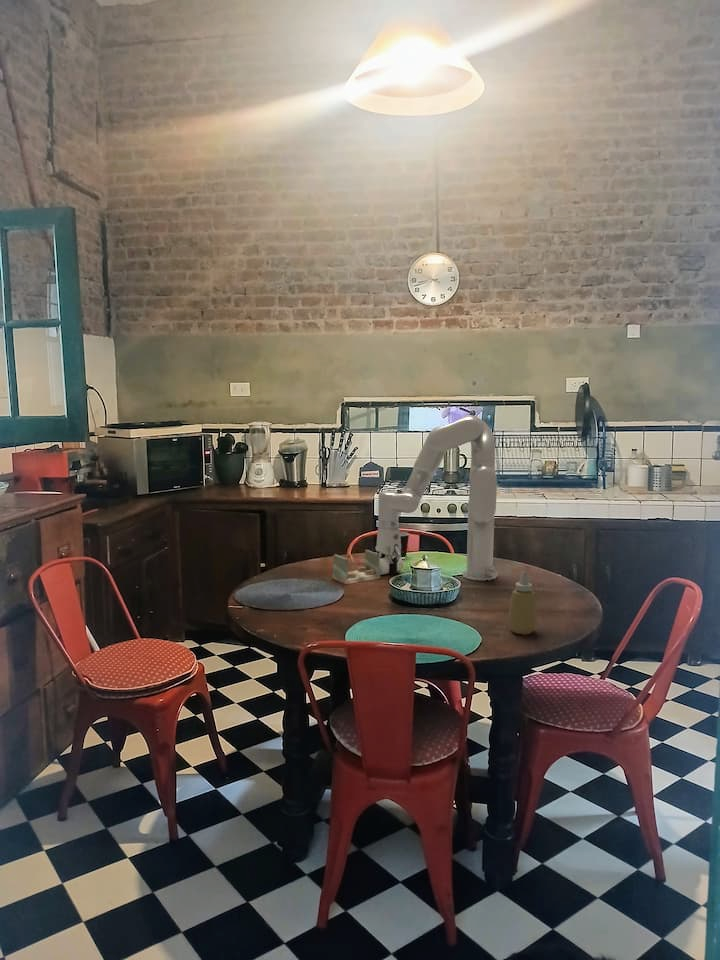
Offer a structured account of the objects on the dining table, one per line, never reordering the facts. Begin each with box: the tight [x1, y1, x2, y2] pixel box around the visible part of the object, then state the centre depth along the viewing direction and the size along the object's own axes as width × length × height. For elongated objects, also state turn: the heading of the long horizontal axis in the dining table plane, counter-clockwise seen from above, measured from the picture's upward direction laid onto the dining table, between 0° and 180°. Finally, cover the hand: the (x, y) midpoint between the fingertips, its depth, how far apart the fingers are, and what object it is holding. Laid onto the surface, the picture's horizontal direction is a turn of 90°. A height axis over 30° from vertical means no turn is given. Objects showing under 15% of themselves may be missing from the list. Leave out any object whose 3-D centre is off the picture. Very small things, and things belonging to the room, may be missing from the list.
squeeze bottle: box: [508, 570, 537, 635], centre depth 215 cm, size 8×8×18 cm
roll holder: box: [332, 549, 381, 585], centre depth 271 cm, size 15×9×9 cm, turn 123°
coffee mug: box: [393, 531, 410, 557], centre depth 302 cm, size 12×9×10 cm
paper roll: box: [379, 556, 404, 576], centre depth 279 cm, size 10×6×6 cm, turn 123°
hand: (387, 570), depth 279 cm, fingers closed on paper roll, 6 cm apart
